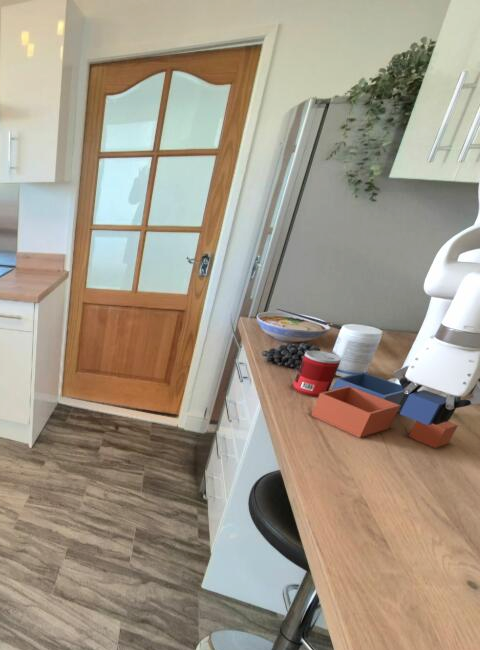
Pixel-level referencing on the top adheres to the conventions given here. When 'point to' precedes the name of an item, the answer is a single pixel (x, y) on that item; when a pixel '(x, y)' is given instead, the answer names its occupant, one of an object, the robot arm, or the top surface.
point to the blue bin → (372, 386)
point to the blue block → (423, 406)
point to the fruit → (289, 354)
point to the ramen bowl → (293, 326)
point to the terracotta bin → (355, 411)
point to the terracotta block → (433, 433)
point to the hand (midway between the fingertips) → (421, 415)
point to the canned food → (316, 372)
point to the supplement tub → (356, 348)
